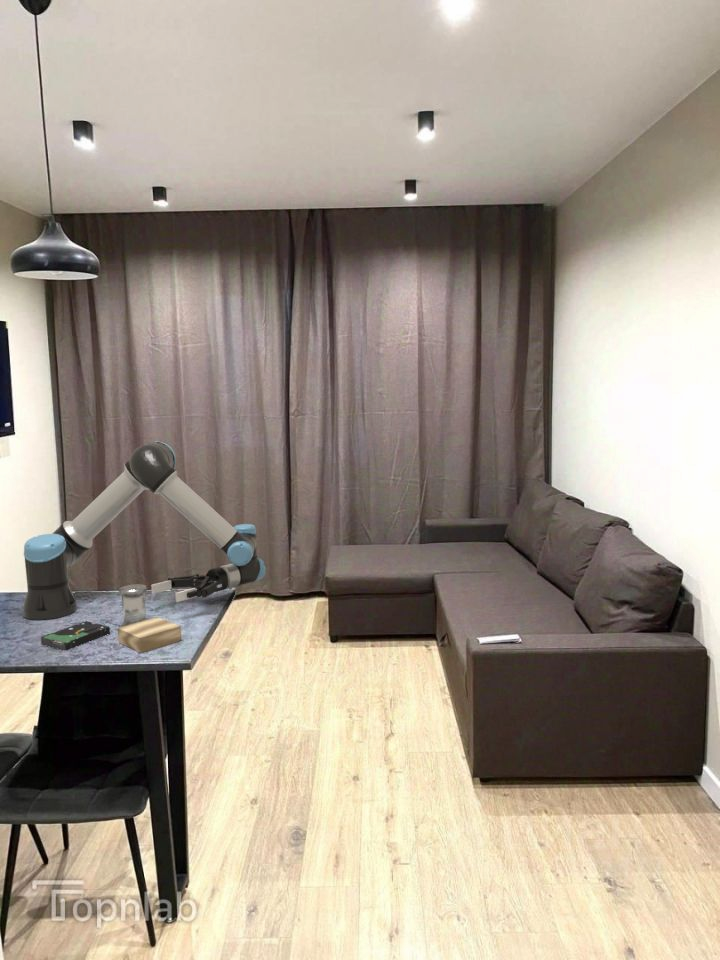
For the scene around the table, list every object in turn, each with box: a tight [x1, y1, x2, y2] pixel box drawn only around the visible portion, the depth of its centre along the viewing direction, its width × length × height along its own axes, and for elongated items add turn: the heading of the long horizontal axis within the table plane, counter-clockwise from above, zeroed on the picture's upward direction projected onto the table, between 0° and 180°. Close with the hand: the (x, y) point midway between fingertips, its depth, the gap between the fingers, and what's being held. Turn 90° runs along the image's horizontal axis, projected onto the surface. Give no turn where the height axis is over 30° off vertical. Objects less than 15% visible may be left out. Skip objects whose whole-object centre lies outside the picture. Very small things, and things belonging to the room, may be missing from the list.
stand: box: [117, 616, 182, 654], centre depth 193 cm, size 12×12×4 cm
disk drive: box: [40, 621, 111, 652], centre depth 197 cm, size 10×3×15 cm
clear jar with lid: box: [118, 583, 148, 626], centre depth 208 cm, size 8×8×11 cm
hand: (163, 593), depth 215 cm, fingers open, 13 cm apart
